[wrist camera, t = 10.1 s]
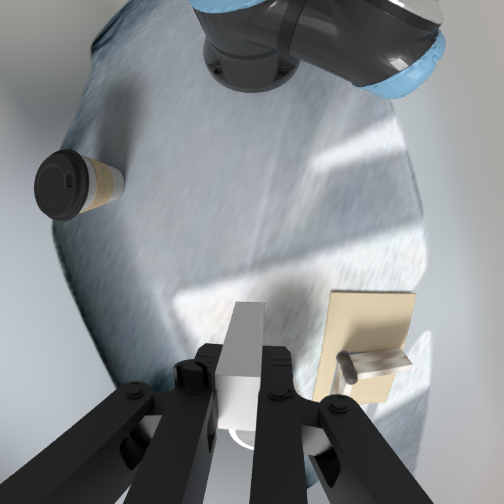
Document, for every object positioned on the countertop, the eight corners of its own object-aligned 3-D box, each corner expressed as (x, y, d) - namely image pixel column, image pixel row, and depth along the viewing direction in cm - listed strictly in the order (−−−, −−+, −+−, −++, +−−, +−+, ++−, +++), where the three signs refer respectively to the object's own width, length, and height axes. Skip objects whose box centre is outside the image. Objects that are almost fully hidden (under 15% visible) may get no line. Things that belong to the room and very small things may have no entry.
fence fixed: (337, 351, 47) (346, 374, 40) (350, 350, 47) (361, 373, 39) (324, 408, 49) (330, 433, 42) (336, 407, 49) (342, 432, 42)
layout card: (330, 291, 45) (330, 292, 44) (415, 293, 44) (416, 294, 44) (310, 405, 50) (311, 406, 49) (384, 400, 49) (385, 402, 49)
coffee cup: (144, 188, 43) (92, 189, 29) (105, 223, 45) (49, 237, 30) (115, 145, 42) (60, 132, 27) (80, 181, 43) (22, 182, 29)
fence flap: (400, 346, 45) (414, 365, 39) (398, 354, 46) (412, 374, 39) (338, 354, 46) (347, 376, 40) (338, 362, 47) (346, 385, 40)
